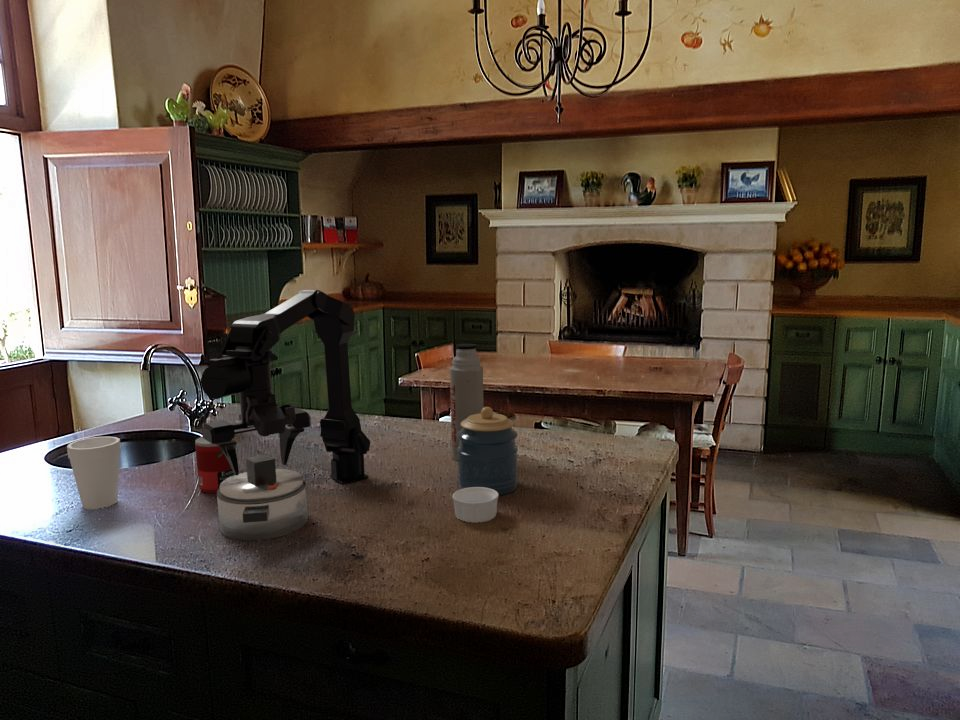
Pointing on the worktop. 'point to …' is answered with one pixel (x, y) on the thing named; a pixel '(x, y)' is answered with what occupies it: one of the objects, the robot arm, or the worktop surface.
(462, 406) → the thermos bottle
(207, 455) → the canned food
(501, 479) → the canister
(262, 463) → the lid
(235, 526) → the pot
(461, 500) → the ramekin
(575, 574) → the worktop surface
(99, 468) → the foam cup
